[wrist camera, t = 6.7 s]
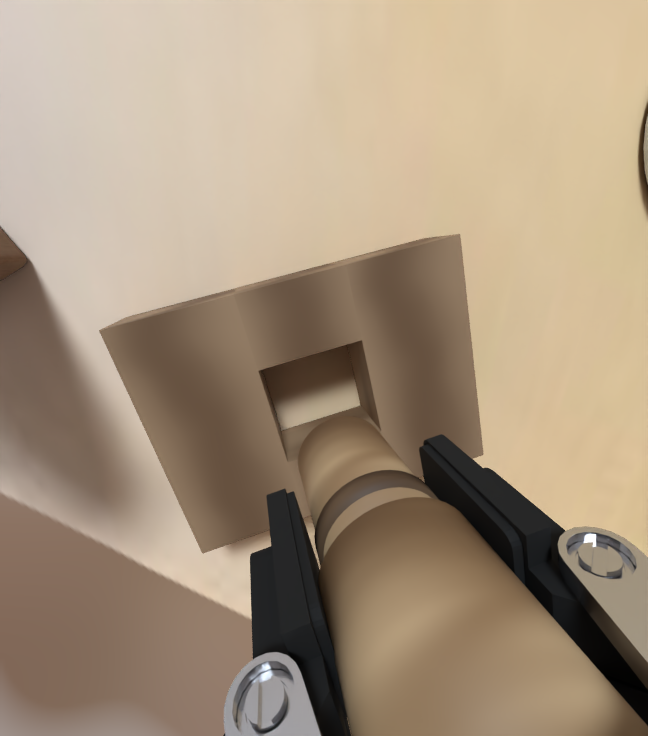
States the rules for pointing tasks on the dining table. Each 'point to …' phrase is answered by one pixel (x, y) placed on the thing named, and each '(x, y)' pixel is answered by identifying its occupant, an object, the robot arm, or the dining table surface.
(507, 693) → the peg
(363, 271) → the board
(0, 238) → the brown jointed angular part
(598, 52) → the dining table surface
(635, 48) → the dining table surface
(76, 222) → the dining table surface
